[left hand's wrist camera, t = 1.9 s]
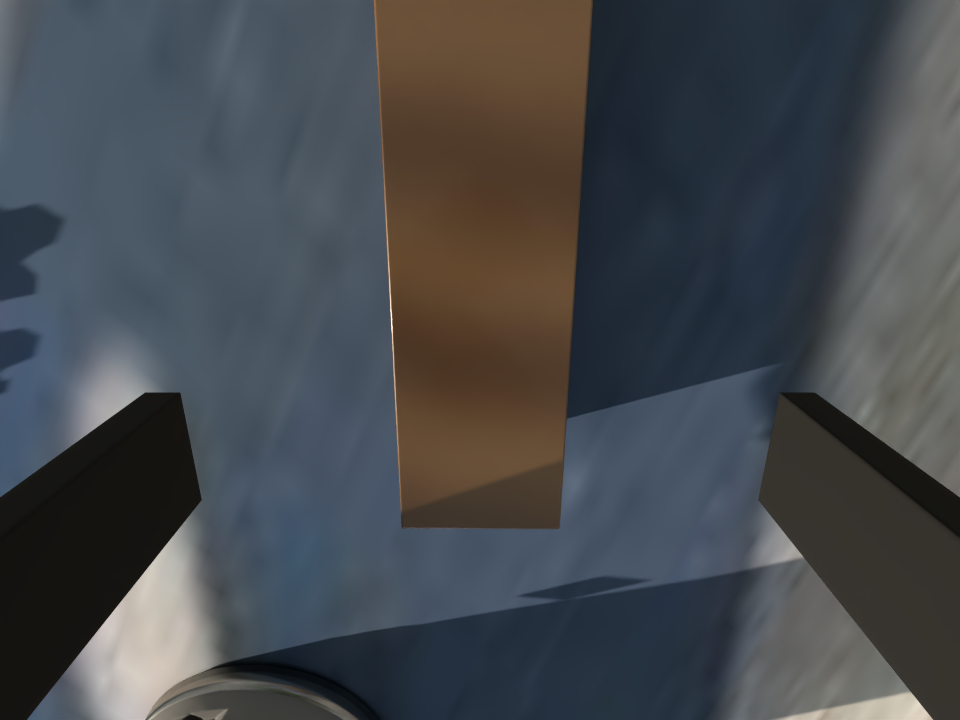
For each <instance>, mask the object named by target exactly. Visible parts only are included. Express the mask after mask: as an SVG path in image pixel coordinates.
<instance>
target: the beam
mask: <svg viewBox="0 0 960 720" xmlns="http://www.w3.org/2000/svg"><path fill="white" fill-rule="evenodd" d="M374 11H375V30H376V49H377V68H378V87H379V106H380V125H381V144H382V163H383V182H384V201H385V220H386V239H387V258H388V277H389V296H390V315H391V334H392V353H393V372H394V391H395V410H396V429H397V448H398V467H399V486H400V504H401V523H402V528H406V529H559V528H560V516H561V500H562V484H563V468H564V452H565V437H566V421H567V405H568V389H569V374H570V358H571V342H572V326H573V311H574V295H575V279H576V263H577V248H578V232H579V216H580V200H581V185H582V169H583V153H584V137H585V122H586V106H587V90H588V74H589V59H590V43H591V27H592V11H593V0H374Z"/></svg>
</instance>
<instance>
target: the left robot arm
mask: <svg viewBox="0 0 960 720" xmlns="http://www.w3.org/2000/svg"><path fill="white" fill-rule="evenodd" d="M201 500H202V499H201V494H200V489H199V484H198V479H197V474H196V469H195V464H194V459H193V454H192V449H191V444H190V439H189V434H188V429H187V424H186V419H185V414H184V409H183V404H182V399H181V394H180V393H144V394H143V395H141V396H140V397H138V398H137V399H136V400H134V401H133V402H132V403H130V404H129V405H127V406H126V407H125V408H123V409H122V410H120V411H119V412H118V413H116V414H115V415H114V416H112V417H111V418H109V419H108V420H107V421H105V422H104V423H103V424H101V425H100V426H98V427H97V428H96V429H94V430H93V431H91V432H90V433H89V434H87V435H86V436H85V437H83V438H82V439H80V440H79V441H78V442H76V443H75V444H74V445H72V446H71V447H69V448H68V449H67V450H65V451H64V452H62V453H61V454H60V455H58V456H57V457H56V458H54V459H53V460H51V461H50V462H49V463H47V464H46V465H44V466H43V467H42V468H40V469H39V470H38V471H36V472H35V473H33V474H32V475H31V476H29V477H28V478H27V479H25V480H24V481H22V482H21V483H20V484H18V485H17V486H15V487H14V488H13V489H11V490H10V491H9V492H7V493H6V494H4V495H3V496H2V497H0V720H27V719H28V717H29V716H30V715H31V714H32V712H33V711H34V710H35V709H36V707H37V706H38V705H39V704H40V702H41V701H42V700H43V699H44V697H45V696H46V695H47V694H48V692H49V691H50V690H51V689H52V687H53V686H54V685H55V684H56V682H57V681H58V680H59V679H60V677H61V676H62V675H63V673H64V672H65V671H66V670H67V668H68V667H69V666H70V665H71V663H72V662H73V661H74V660H75V658H76V657H77V656H78V655H79V653H80V652H81V651H82V650H83V648H84V647H85V646H86V645H87V643H88V642H89V641H90V640H91V638H92V637H93V636H94V635H95V633H96V632H97V631H98V630H99V628H100V627H101V626H102V624H103V623H104V622H105V621H106V619H107V618H108V617H109V616H110V614H111V613H112V612H113V611H114V609H115V608H116V607H117V606H118V604H119V603H120V602H121V601H122V599H123V598H124V597H125V596H126V594H127V593H128V592H129V591H130V589H131V588H132V587H133V586H134V584H135V583H136V582H137V581H138V579H139V578H140V577H141V576H142V574H143V573H144V572H145V570H146V569H147V568H148V567H149V565H150V564H151V563H152V562H153V560H154V559H155V558H156V557H157V555H158V554H159V553H160V552H161V550H162V549H163V548H164V547H165V545H166V544H167V543H168V542H169V540H170V539H171V538H172V537H173V535H174V534H175V533H176V532H177V530H178V529H179V528H180V527H181V525H182V524H183V523H184V522H185V520H186V519H187V518H188V516H189V515H190V514H191V513H192V511H193V510H194V509H195V508H196V506H197V505H198V504H199V503H200V501H201ZM758 500H759V501H760V503H761V504H762V505H763V506H764V508H765V509H766V510H767V511H768V513H769V514H770V515H771V516H772V518H773V519H774V520H775V522H776V523H777V524H778V525H779V527H780V528H781V529H782V530H783V532H784V533H785V534H786V535H787V537H788V538H789V539H790V540H791V542H792V543H793V544H794V545H795V547H796V548H797V549H798V550H799V552H800V553H801V554H802V555H803V557H804V558H805V559H806V560H807V562H808V563H809V564H810V565H811V567H812V568H813V569H814V570H815V572H816V573H817V574H818V576H819V577H820V578H821V579H822V581H823V582H824V583H825V584H826V586H827V587H828V588H829V589H830V591H831V592H832V593H833V594H834V596H835V597H836V598H837V599H838V601H839V602H840V603H841V604H842V606H843V607H844V608H845V609H846V611H847V612H848V613H849V614H850V616H851V617H852V618H853V619H854V621H855V622H856V623H857V624H858V626H859V627H860V628H861V630H862V631H863V632H864V633H865V635H866V636H867V637H868V638H869V640H870V641H871V642H872V643H873V645H874V646H875V647H876V648H877V650H878V651H879V652H880V653H881V655H882V656H883V657H884V658H885V660H886V661H887V662H888V663H889V665H890V666H891V667H892V668H893V670H894V671H895V672H896V673H897V675H898V676H899V677H900V679H901V680H902V681H903V682H904V684H905V685H906V686H907V687H908V689H909V690H910V691H911V692H912V694H913V695H914V696H915V697H916V699H917V700H918V701H919V702H920V704H921V705H922V706H923V707H924V709H925V710H926V711H927V712H928V714H929V715H930V716H931V717H932V719H933V720H960V497H958V496H957V495H956V494H954V493H953V492H951V491H950V490H949V489H947V488H946V487H945V486H943V485H942V484H940V483H939V482H938V481H936V480H935V479H933V478H932V477H931V476H929V475H928V474H927V473H925V472H924V471H922V470H921V469H920V468H918V467H917V466H916V465H914V464H913V463H911V462H910V461H909V460H907V459H906V458H904V457H903V456H902V455H900V454H899V453H898V452H896V451H895V450H893V449H892V448H891V447H889V446H888V445H886V444H885V443H884V442H882V441H881V440H880V439H878V438H877V437H875V436H874V435H873V434H871V433H870V432H869V431H867V430H866V429H864V428H863V427H862V426H860V425H859V424H857V423H856V422H855V421H853V420H852V419H851V418H849V417H848V416H846V415H845V414H844V413H842V412H841V411H840V410H838V409H837V408H835V407H834V406H833V405H831V404H830V403H828V402H827V401H826V400H824V399H823V398H822V397H820V396H819V395H817V394H816V393H780V394H779V399H778V404H777V409H776V414H775V419H774V424H773V429H772V434H771V439H770V444H769V449H768V454H767V459H766V464H765V469H764V474H763V479H762V484H761V489H760V494H759V499H758ZM145 720H378V719H377V718H376V717H375V715H374V714H373V713H372V712H371V711H370V710H369V709H368V708H367V707H366V706H365V705H364V704H363V703H362V702H360V701H359V700H358V699H357V698H355V697H354V696H353V695H351V694H350V693H348V692H347V691H345V690H343V689H342V688H340V687H338V686H336V685H334V684H333V683H330V682H328V681H326V680H324V679H321V678H319V677H316V676H313V675H310V674H308V673H304V672H300V671H297V670H292V669H288V668H283V667H275V666H266V665H238V666H228V667H223V668H217V669H213V670H209V671H205V672H202V673H200V674H197V675H194V676H192V677H190V678H187V679H185V680H183V681H182V682H180V683H178V684H177V685H175V686H174V687H172V688H171V689H170V690H168V691H167V692H166V693H165V694H164V695H163V696H162V697H160V698H159V700H158V701H157V702H156V703H155V705H154V706H153V707H152V709H151V711H150V712H149V714H148V716H147V717H146V719H145Z"/></svg>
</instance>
